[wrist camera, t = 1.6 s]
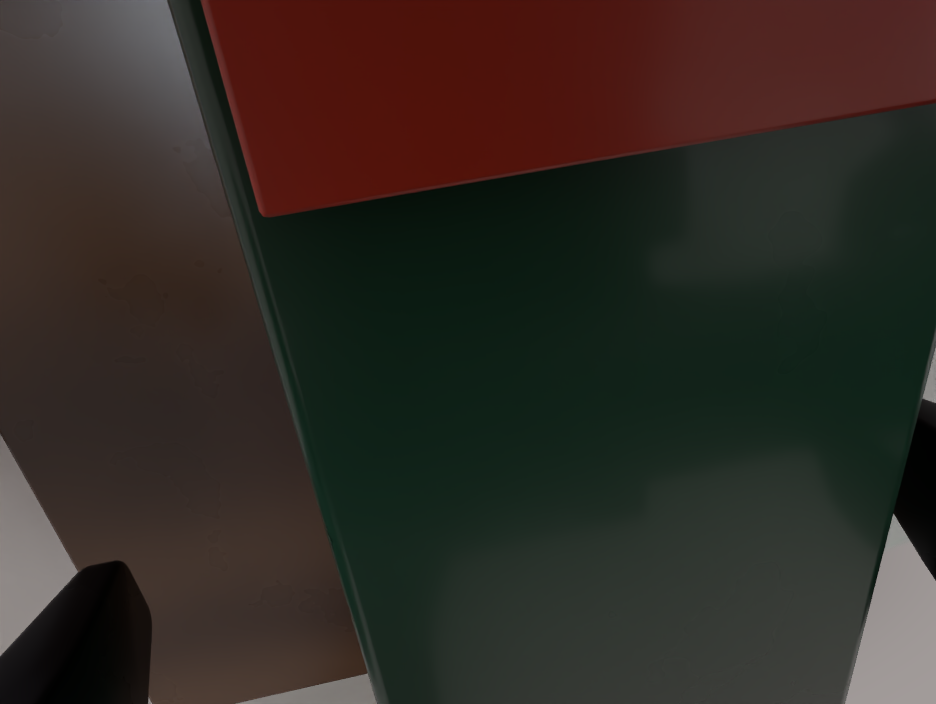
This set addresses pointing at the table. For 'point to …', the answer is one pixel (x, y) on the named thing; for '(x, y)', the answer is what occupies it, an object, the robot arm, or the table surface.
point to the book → (590, 324)
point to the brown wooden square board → (152, 359)
